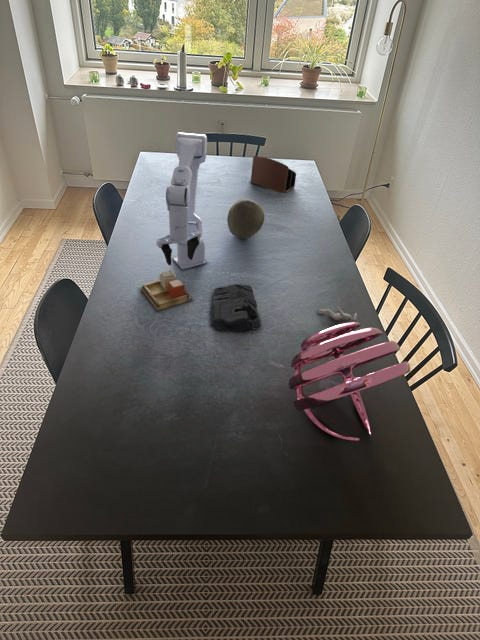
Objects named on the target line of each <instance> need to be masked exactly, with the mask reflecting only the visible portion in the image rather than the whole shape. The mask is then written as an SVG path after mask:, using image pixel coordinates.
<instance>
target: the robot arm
mask: <svg viewBox="0 0 480 640" xmlns="http://www.w3.org/2000/svg"><path fill="white" fill-rule="evenodd" d="M174 149H175V152H176V156H177V159H178V165H177V166H176V167H174V169H173V172H172V177H171V179H170V180H171V181H170V185H169V186H166V190H165V203H166V207H167V211H168V224H169V226H168V227H169V234H167V235H165V236H162V237H160V238H157V239H156V246H157V247H158V248H159V249H161V251H162V254H163V256H164V258H165V261H166V264H167V265H168V266H172V260H173V261H174V262H175V263H176V264H177V265H178V266H179V267H180V269H181V270H187V269H190V268H193V267H197V266H200V265H201V266H202V265H204V264H206V261H205V259H206V256H205V255H206V253H205V251H206V246H205V241H204V239H203V238H202V237H203V236H202V235H203V221H202V218H201V217H200V216H198V215H197V214H196V203H197V188H198V177H199V170H200V165H201V164H203V163H205V162H206V158H207V149H208V137H207V135H206V134H197V133H187V132H180V131H178V132H177V133H176V134H175V138H174ZM173 244H176V254H177V255H176V256H175V257H173V258H172V253H173V249H172V248H171V245H173Z"/></svg>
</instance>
